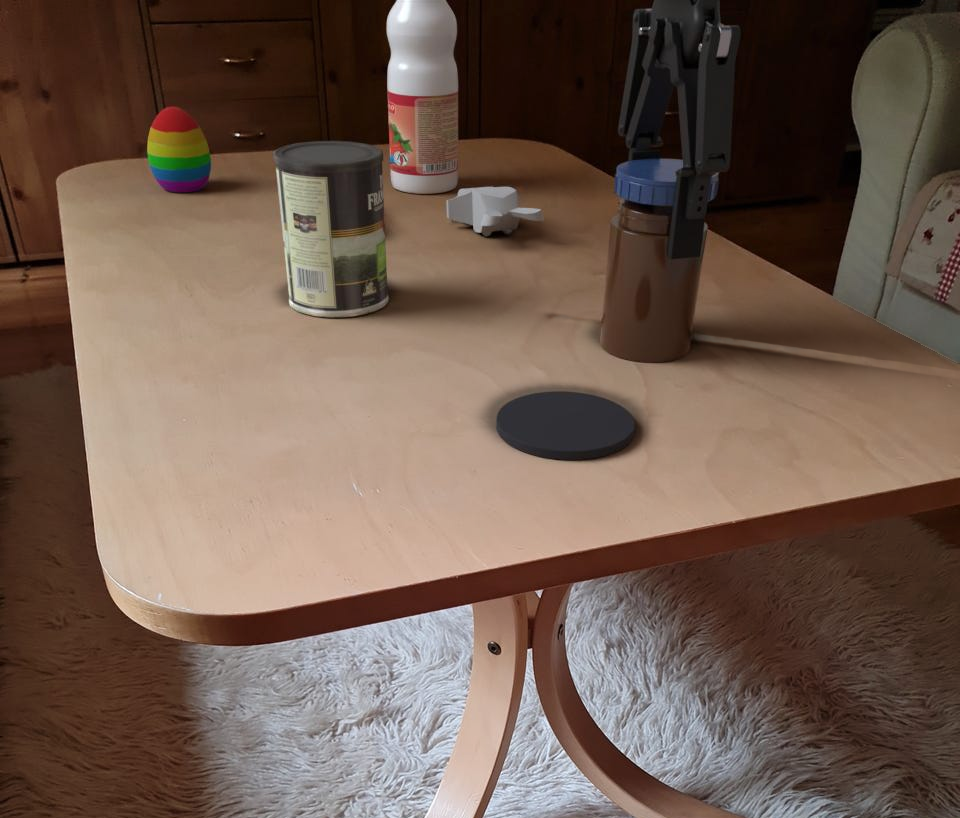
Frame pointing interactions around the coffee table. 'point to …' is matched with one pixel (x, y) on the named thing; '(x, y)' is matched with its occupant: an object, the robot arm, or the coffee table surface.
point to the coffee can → (333, 227)
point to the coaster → (565, 425)
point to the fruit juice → (422, 96)
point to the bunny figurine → (490, 209)
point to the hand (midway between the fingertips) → (659, 241)
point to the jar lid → (652, 181)
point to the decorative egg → (178, 152)
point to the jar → (648, 287)
